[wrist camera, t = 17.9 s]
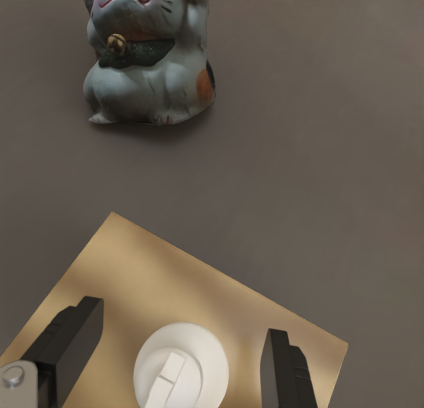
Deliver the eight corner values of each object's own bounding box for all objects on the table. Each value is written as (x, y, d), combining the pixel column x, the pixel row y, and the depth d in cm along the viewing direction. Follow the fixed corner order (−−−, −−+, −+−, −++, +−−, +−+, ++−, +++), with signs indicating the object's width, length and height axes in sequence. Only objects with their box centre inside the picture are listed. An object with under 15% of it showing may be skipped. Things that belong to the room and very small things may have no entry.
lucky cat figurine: (63, 120, 35) (11, -44, 26) (135, 88, 43) (112, -43, 35) (183, 144, 29) (162, -58, 20) (238, 102, 37) (239, -53, 29)
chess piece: (115, 398, 16) (11, 449, 7) (163, 306, 18) (127, 257, 9) (203, 448, 16) (208, 575, 7) (243, 347, 18) (289, 337, 8)
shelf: (136, 252, 29) (112, 210, 21) (302, 347, 26) (349, 343, 18) (53, 373, 25) (-20, 381, 16) (240, 504, 22) (264, 593, 14)
